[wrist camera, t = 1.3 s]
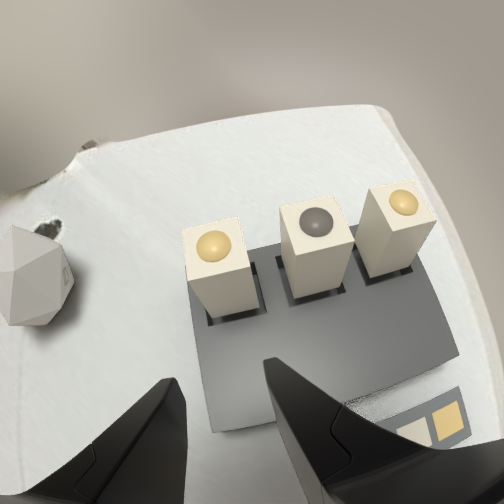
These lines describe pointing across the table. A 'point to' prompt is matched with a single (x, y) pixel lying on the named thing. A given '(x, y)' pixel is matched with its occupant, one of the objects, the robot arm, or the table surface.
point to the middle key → (314, 245)
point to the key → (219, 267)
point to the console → (319, 337)
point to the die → (32, 278)
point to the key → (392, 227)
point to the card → (433, 422)
